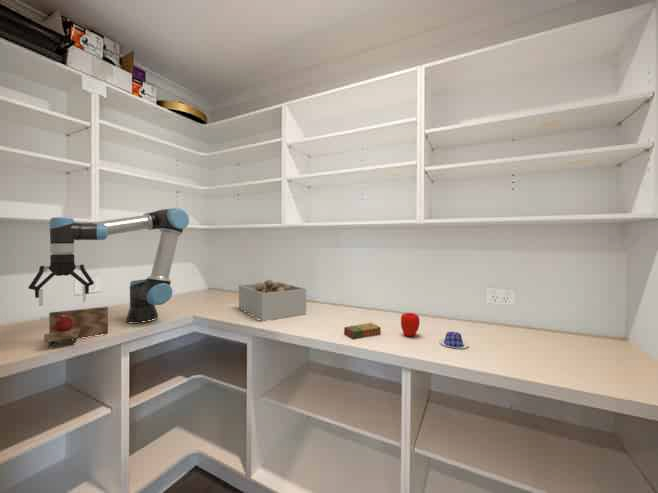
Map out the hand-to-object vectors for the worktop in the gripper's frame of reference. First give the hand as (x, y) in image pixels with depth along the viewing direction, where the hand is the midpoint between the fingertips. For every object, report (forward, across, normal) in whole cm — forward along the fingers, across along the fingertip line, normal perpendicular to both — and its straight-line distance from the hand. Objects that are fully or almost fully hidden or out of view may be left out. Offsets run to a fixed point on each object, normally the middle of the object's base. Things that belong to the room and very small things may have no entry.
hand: (63, 303), depth 121 cm
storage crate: (+19, -98, -3) cm, 99 cm away
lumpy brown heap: (+19, -97, -3) cm, 99 cm away
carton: (+19, -114, +64) cm, 132 cm away
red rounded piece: (+19, -132, +79) cm, 155 cm away
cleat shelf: (+18, 0, -1) cm, 18 cm away
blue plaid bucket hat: (+19, -138, +98) cm, 170 cm away
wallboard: (+18, -5, -7) cm, 20 cm away
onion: (+13, 0, -1) cm, 13 cm away
